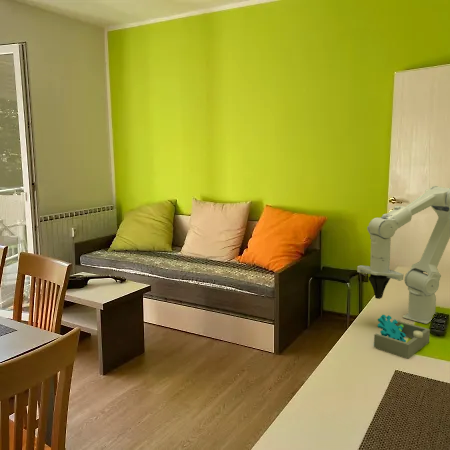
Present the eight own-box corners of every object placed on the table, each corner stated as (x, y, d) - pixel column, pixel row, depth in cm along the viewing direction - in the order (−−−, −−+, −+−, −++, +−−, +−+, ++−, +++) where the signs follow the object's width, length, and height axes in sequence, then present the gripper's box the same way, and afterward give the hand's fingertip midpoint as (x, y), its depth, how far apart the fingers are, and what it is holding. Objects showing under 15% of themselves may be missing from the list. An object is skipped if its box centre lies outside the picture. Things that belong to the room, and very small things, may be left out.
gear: (393, 347, 127) (375, 315, 131) (379, 356, 130) (361, 325, 135) (415, 341, 133) (396, 311, 138) (400, 350, 137) (382, 320, 142)
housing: (396, 332, 140) (397, 316, 139) (431, 342, 132) (432, 326, 131) (373, 347, 130) (374, 330, 129) (410, 359, 123) (411, 341, 122)
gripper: (352, 255, 143) (351, 295, 146) (396, 262, 133) (394, 306, 136) (364, 250, 148) (362, 290, 151) (407, 258, 138) (405, 300, 140)
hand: (378, 297), depth 144 cm, fingers closed
